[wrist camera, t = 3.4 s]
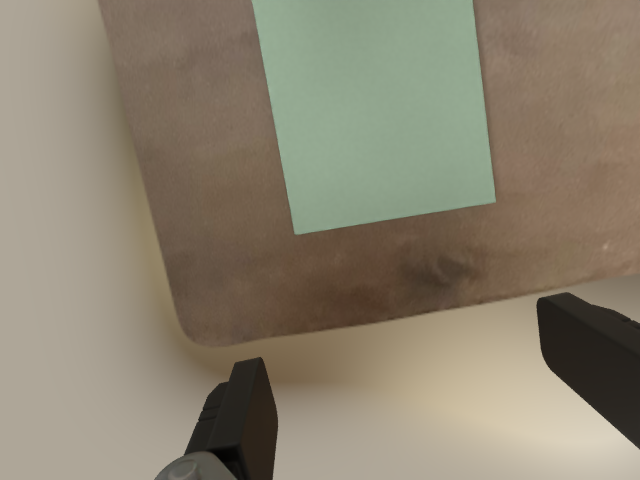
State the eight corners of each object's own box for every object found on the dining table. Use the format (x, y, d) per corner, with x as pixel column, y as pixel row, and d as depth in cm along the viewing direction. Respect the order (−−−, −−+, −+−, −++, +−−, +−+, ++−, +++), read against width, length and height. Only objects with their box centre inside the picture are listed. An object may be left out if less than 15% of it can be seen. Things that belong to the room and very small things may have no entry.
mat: (493, 201, 28) (496, 202, 27) (295, 234, 29) (294, 235, 29) (452, -149, 25) (454, -157, 24) (236, -93, 27) (233, -99, 26)
